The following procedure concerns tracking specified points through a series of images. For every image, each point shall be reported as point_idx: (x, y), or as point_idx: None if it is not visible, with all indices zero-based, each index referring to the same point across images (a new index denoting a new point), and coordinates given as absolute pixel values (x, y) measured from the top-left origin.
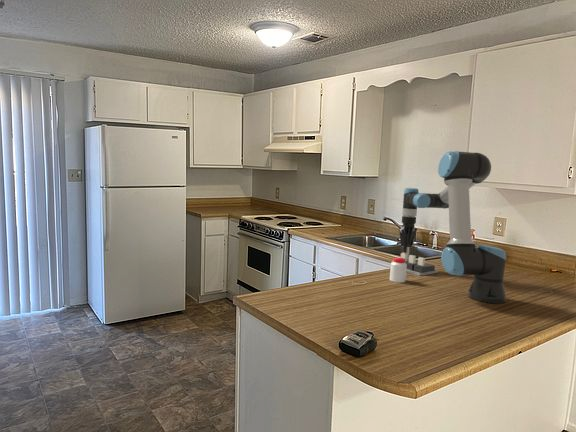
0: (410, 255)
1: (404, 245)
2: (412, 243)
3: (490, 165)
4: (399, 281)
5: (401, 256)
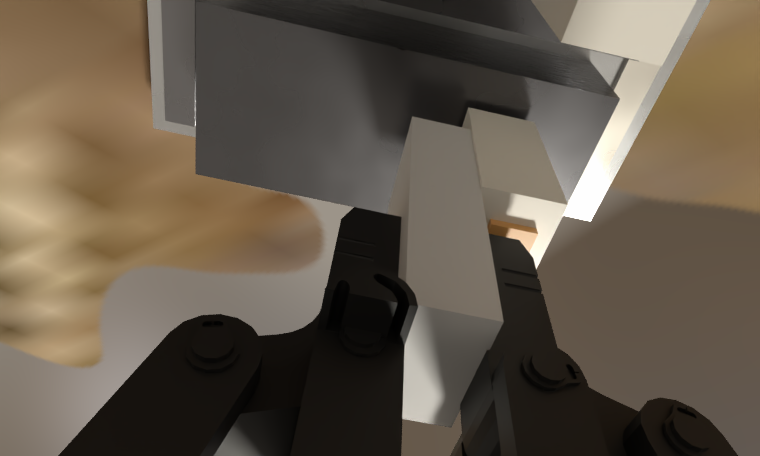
0: (683, 16)
1: (711, 432)
2: (182, 382)
3: None
4: None
5: None
